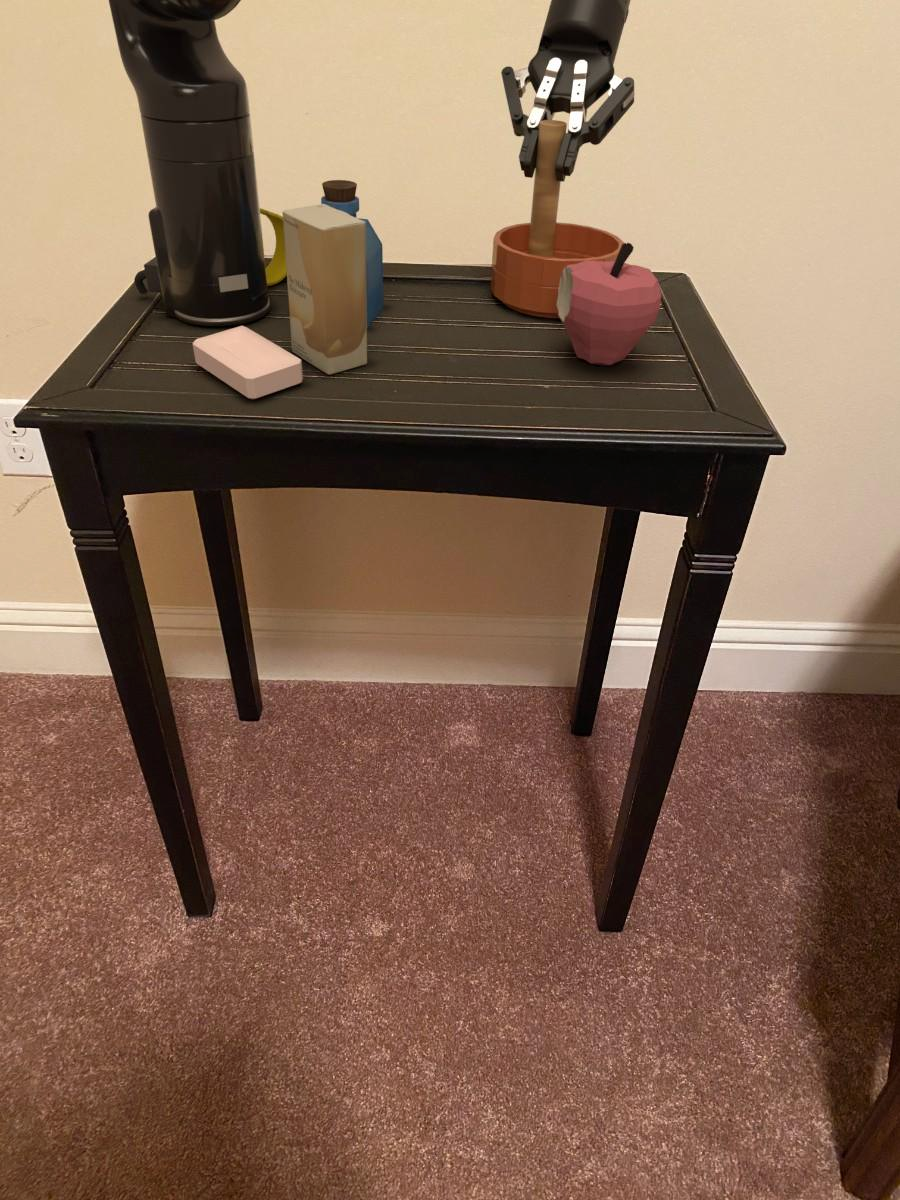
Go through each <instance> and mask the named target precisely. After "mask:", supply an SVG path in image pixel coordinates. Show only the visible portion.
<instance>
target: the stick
mask: <svg viewBox="0 0 900 1200" xmlns="http://www.w3.org/2000/svg"><path fill="white" fill-rule="evenodd" d="M567 127H568V124H567V122H565V121H562V120H556V119H552V120H543V121H540V122H539V133H538V145H537V156H536V167H535V171H534V177H533V178H534V179H533V191H532V202H531V212H530V213H531V214H530V222H529V223H530V234H529V245H528V254H531V255H536V256H541V257H549V258H556V257H554V256H553V248H554V239H555V230H556V222H557V219H558V218H557V217H558V211H559V201H560V191H561V183H562V181H556V174H555V166H556V162H557V159H558V155H559V151H560V148H561V144H562V140H563V137H564V133H567Z"/></svg>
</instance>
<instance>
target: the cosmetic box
mask: <svg viewBox="0 0 900 1200" xmlns="http://www.w3.org/2000/svg"><path fill="white" fill-rule="evenodd" d="M281 213H282V217H283V225H284V239H285V253H286V268H287V276H286V282H287V296H288V308H289V309H288V310H289V311H288V312H289V325H290V341H291V351H292V352H293V353H294V355H296V356H297V357H300V359H302V360H304V361H306V362H307V363H308V364H310V365H312V366H314V367H315V368H317V369H318V370H320V371H321V372H323V373H325V374H327V375H329V376H330V375H333V374H334V375H335V374H337V373H340V372H344V371H347V370H351V369H354V368H359V367H361V366H365V365H367V364H368V328H367V294H366V222H365V221H362V220H360V219H361V218H360V219H358V218H359V217H356V218H355V217H353V216H351V215H349V214H348V213H346V212H343V211H341V210H337V209H335V208H332V207H330V206H328V205H326V204H321V203H319V204H314V205H308V206H302V207H296V208H291V209H286V210H282V212H281Z"/></svg>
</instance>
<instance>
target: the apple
mask: <svg viewBox="0 0 900 1200" xmlns="http://www.w3.org/2000/svg"><path fill="white" fill-rule="evenodd" d="M634 248H635V247H634V246H633V244H632V243H631V242H624V244H622V246H621V248H620V251H619V253H618V256H617V258H616V261H607V262H602V261H583V262H580V263H578V264H572V265H566V266H565V268H564V269H563V272H562V276H561V278H560V283H559V288H558V299H557V308H558V311H559V314H558V315H559V317H560V318H559V319H560V321H561V324H562V325H563V327H564V330H565V331H566V333H567V335H568V338H569V339H570V341H571V344H572V347H573V351H574V353H575V355H576V357H577V358H579V359H581V360H584V361H586V362H588V363H589V364H591V365H596V366H597V365H599V366H604V367H605V366H606V367H607V366H608V367H609V366H612V365H614V364H615V363H618V362H621V361H624V360H625V358H626V357H627V356H628V355H629V354H630V353H631V352H632V351H633V349H634V347H635V346H636V344H637V343H639V341H640V340H641V339H643V337H644V336H645V334H647V332H648V331H649V330H650V328H651V327H652V326H653V324H654V323H655V322H656V319H657V316H658V314H659V311H660V309H661V303H662V291H661V288H660V283H659V280H658V278H657V277H656V276H655V275H654V273H653V272H652V269H650V268H647V267H645V266H640V265H636V264H629V263H627V262H626V261H627V260H628V259H629V257H630V255H632V253H633V252H634Z"/></svg>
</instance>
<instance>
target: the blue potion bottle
mask: <svg viewBox="0 0 900 1200" xmlns="http://www.w3.org/2000/svg"><path fill="white" fill-rule="evenodd" d="M321 186H322V191H323V194H324V195H323V196H321V198H320V201H321V202H320V204H326V205H328V206H330V207H332V208H335V209H337V210H341V211H343V212H346V213H348V214H349V215H351V216H353V217H355V218H358V219H360V220H362V221H365V222H366V294H367V329H369V327H370V326H371V325H372V323H373V322H374V321H375V319H376V318H377V316H378V315H379V314H380V313H381V311H382V310H383V309H384V263H383V261H384V260H383V259H384V258H383V254H384V253H383V242H382V241H381V239H380V238H379V236H378V234H377V232H376V231H375V229H374V227H373V226H372V224H371V222H370V221H369V219H368V218H360V217H357V213H358V212H360V197H358V196H356V193H357V188H358V184H357V182H355V181H352V180H347V179H332V180H326V181H323V182H322V183H321Z"/></svg>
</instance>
